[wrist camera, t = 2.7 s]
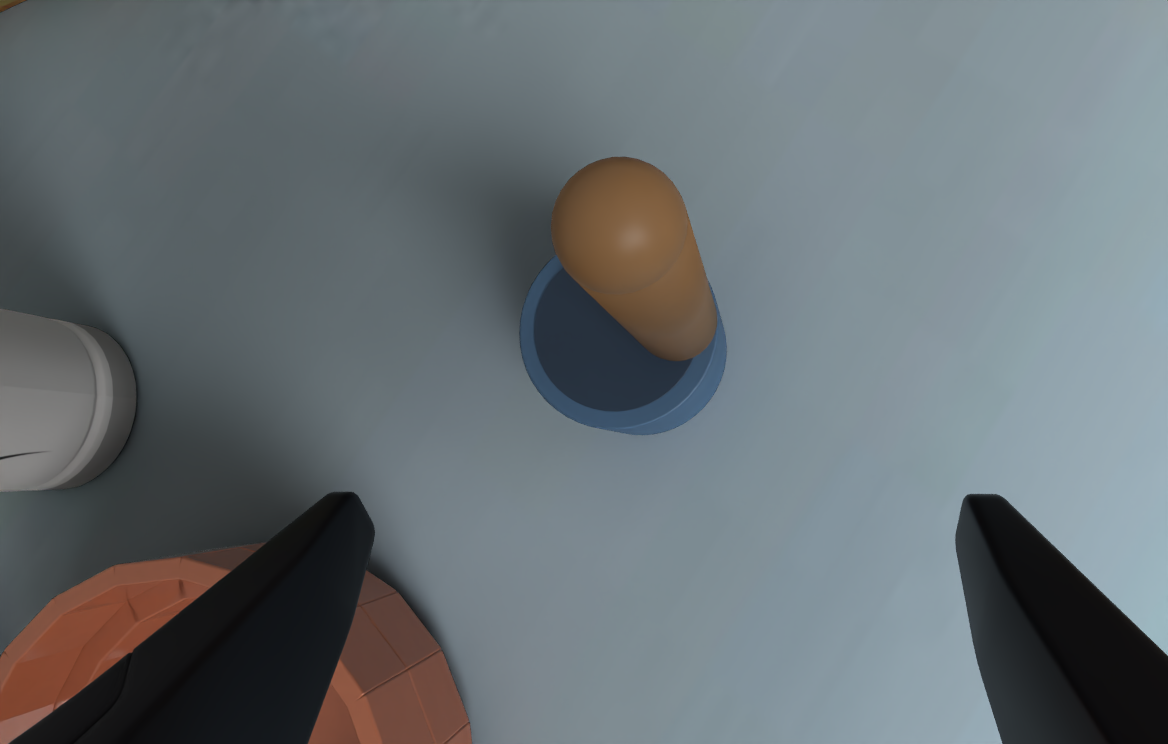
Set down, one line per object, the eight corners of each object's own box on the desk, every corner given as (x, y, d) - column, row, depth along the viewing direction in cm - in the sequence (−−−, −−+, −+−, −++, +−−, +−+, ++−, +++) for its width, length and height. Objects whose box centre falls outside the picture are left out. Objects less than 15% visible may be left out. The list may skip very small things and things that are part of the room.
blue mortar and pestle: (723, 263, 21) (674, 10, 9) (729, 433, 21) (684, 396, 9) (560, 275, 23) (332, 66, 11) (560, 436, 22) (318, 407, 10)
